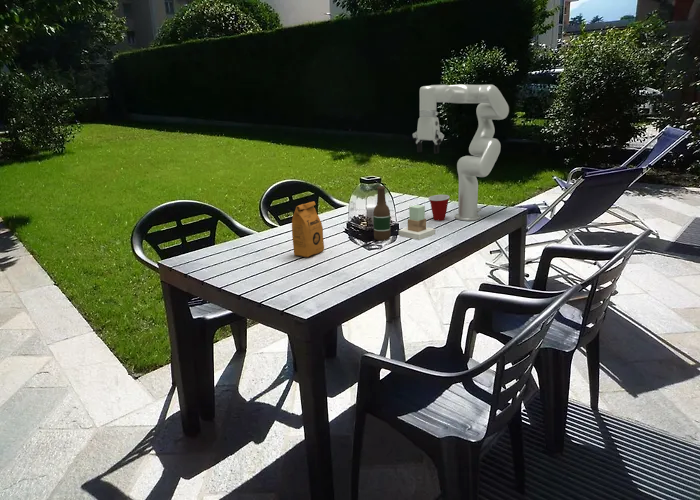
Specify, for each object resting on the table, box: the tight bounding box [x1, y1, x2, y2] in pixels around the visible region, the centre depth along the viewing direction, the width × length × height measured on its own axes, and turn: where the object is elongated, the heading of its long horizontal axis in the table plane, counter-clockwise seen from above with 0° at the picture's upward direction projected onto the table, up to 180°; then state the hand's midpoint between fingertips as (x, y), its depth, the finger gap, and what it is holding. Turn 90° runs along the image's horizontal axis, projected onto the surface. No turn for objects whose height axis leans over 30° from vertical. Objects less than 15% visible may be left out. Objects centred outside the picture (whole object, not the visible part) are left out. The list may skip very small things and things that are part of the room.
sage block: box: [408, 204, 426, 221], centre depth 233 cm, size 5×5×6 cm
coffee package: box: [291, 201, 325, 258], centre depth 212 cm, size 10×12×22 cm
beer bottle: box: [372, 185, 391, 241], centre depth 229 cm, size 8×8×24 cm
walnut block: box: [407, 218, 427, 232], centre depth 234 cm, size 6×6×5 cm
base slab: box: [398, 226, 436, 241], centre depth 236 cm, size 12×12×2 cm
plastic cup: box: [427, 194, 450, 222], centre depth 259 cm, size 11×11×12 cm
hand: (427, 152), depth 235 cm, fingers open, 9 cm apart
